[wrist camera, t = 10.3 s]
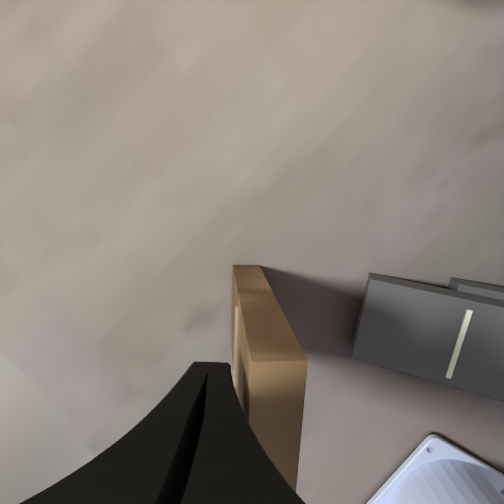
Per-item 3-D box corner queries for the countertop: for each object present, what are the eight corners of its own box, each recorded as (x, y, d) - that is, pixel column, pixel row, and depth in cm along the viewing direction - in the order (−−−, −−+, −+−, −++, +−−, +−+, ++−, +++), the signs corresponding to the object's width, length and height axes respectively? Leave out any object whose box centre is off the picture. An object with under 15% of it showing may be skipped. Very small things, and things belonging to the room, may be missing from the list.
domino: (351, 358, 18) (557, 418, 15) (370, 279, 17) (596, 328, 14) (352, 344, 20) (536, 396, 17) (369, 272, 18) (569, 314, 16)
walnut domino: (228, 340, 19) (241, 505, 9) (230, 264, 18) (247, 361, 8) (257, 340, 19) (298, 499, 10) (261, 265, 18) (311, 359, 8)
